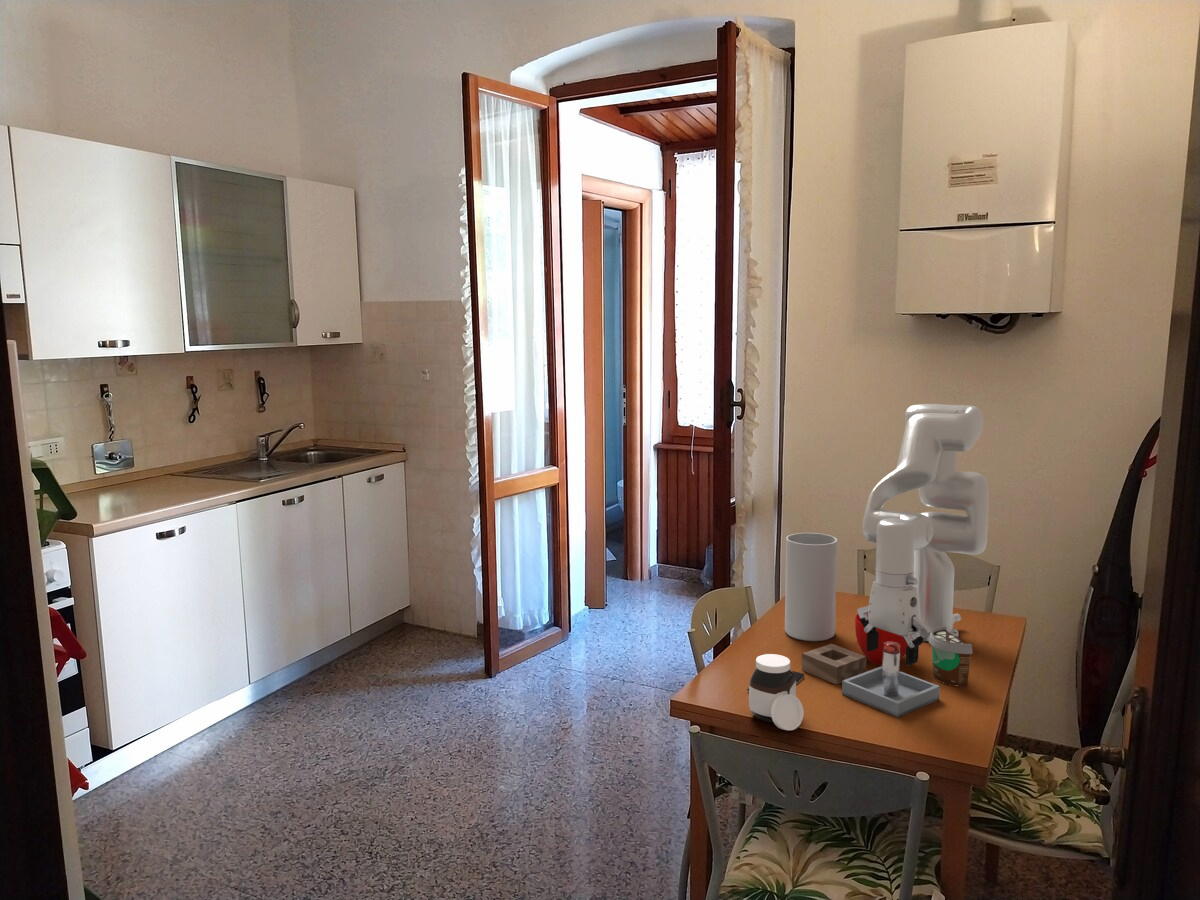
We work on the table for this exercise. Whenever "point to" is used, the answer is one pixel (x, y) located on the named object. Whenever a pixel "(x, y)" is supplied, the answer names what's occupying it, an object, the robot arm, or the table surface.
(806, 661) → the walnut socket block
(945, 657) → the food container
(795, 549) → the cylinder vase
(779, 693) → the jar and lid
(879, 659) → the red bowl
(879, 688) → the slate tray
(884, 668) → the steel pin
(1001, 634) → the table surface
